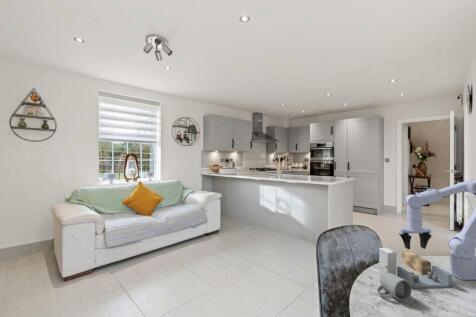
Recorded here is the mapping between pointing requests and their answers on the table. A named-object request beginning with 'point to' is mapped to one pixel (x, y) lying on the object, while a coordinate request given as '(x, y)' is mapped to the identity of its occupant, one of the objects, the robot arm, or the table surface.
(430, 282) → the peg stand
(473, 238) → the robot arm
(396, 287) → the ceramic mug
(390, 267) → the skincare box
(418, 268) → the oak plank
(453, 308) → the table surface
